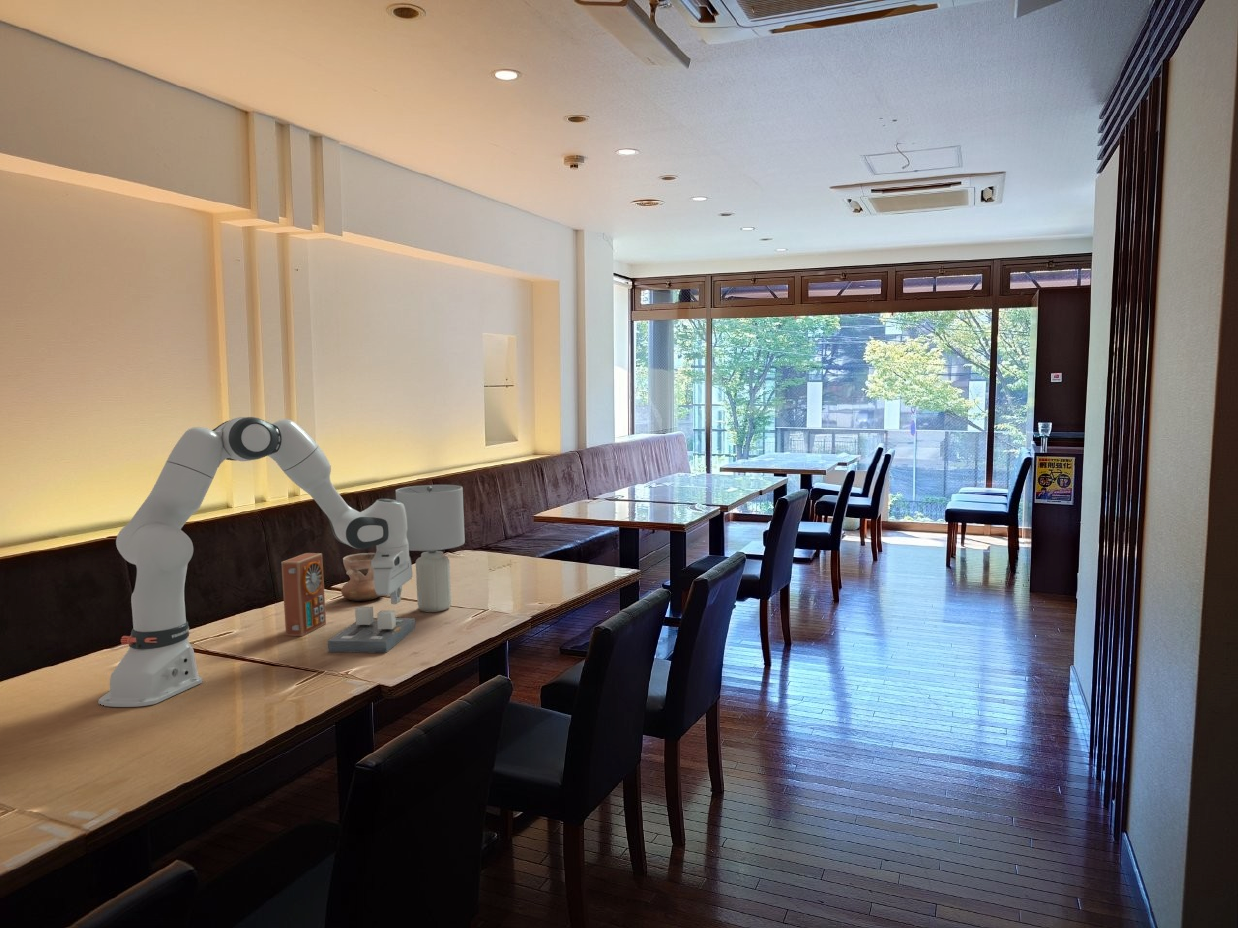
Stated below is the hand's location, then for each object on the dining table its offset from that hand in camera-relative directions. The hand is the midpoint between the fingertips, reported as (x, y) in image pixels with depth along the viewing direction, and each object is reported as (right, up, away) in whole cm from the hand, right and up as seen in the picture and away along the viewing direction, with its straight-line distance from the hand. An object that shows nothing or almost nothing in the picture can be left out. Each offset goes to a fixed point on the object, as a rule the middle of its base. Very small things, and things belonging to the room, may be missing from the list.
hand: (396, 602), depth 237 cm
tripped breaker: (-1, -6, -7) cm, 9 cm away
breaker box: (-5, -9, -6) cm, 12 cm away
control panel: (-28, -9, +5) cm, 29 cm away
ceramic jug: (-21, -5, +41) cm, 46 cm away
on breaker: (-8, -5, -2) cm, 10 cm away
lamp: (+5, -6, +25) cm, 26 cm away
